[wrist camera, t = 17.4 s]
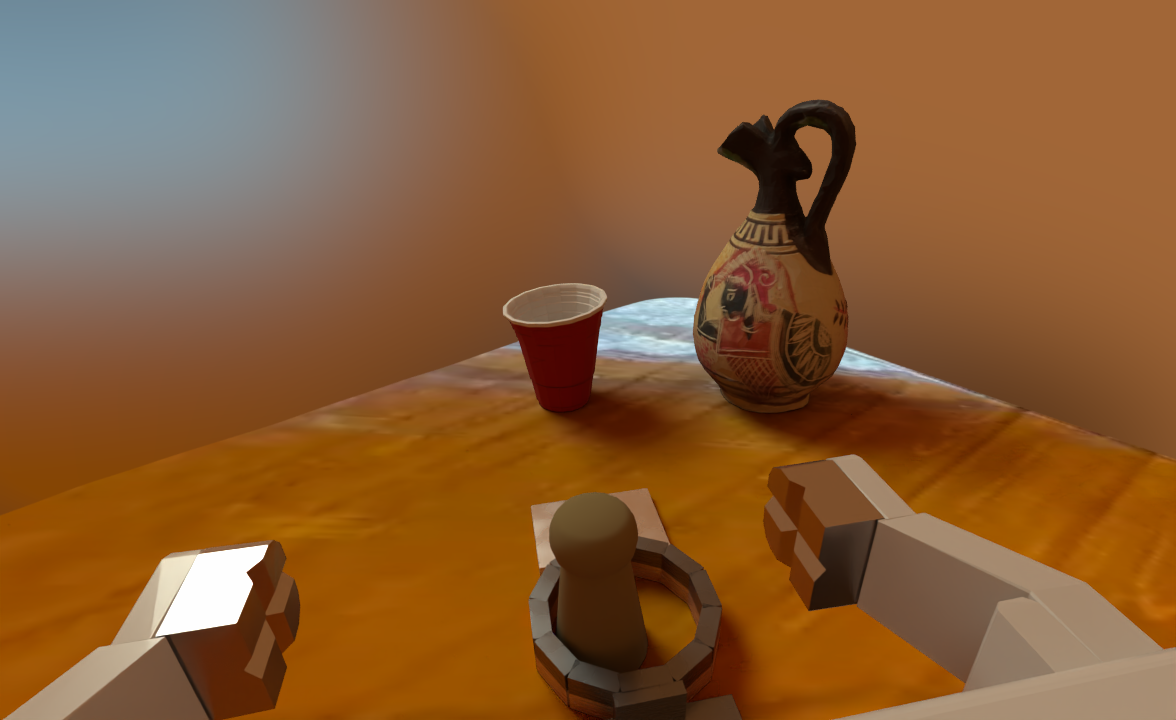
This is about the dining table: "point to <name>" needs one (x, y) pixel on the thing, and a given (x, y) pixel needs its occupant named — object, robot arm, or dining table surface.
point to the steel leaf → (647, 528)
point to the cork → (598, 582)
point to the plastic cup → (559, 340)
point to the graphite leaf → (648, 696)
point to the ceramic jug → (777, 271)
